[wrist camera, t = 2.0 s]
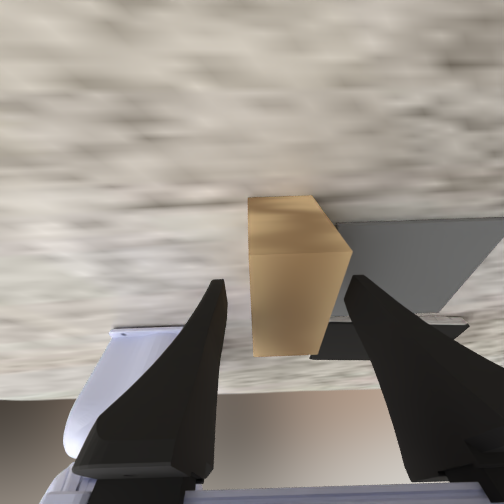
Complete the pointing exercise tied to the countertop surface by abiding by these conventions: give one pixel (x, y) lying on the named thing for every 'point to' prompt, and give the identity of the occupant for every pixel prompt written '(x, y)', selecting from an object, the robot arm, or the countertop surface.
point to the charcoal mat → (417, 257)
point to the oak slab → (292, 274)
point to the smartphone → (351, 348)
